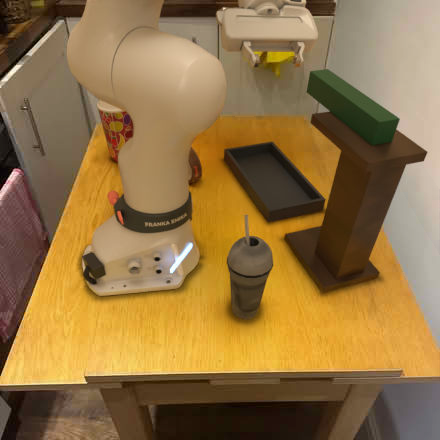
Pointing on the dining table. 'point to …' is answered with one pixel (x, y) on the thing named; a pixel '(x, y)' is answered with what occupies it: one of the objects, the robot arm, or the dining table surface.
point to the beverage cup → (248, 273)
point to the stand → (352, 205)
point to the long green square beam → (352, 107)
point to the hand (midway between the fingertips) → (277, 64)
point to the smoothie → (115, 127)
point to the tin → (194, 167)
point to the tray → (273, 181)
